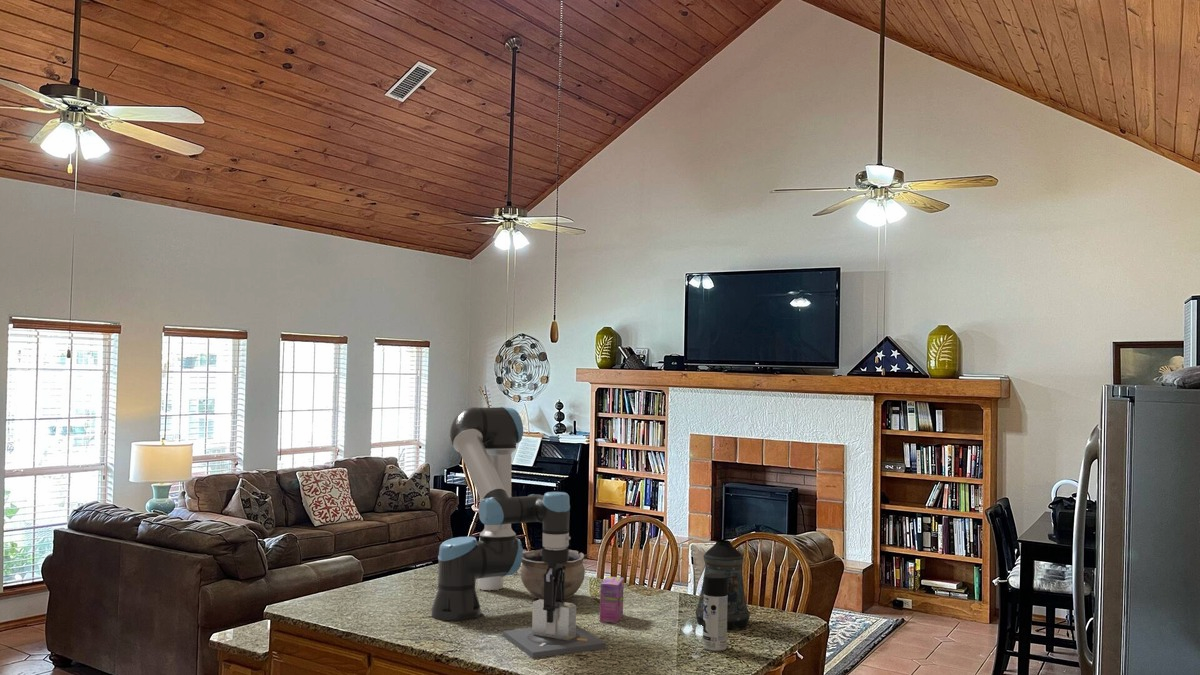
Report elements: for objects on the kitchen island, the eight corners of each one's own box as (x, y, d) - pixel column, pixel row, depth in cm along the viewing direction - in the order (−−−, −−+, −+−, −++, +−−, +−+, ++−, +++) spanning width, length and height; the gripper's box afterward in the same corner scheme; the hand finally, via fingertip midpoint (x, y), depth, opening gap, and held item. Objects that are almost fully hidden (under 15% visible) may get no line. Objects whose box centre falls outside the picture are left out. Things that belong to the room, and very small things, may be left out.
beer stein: (713, 633, 262) (714, 547, 263) (681, 616, 280) (682, 537, 281) (760, 627, 269) (760, 544, 270) (726, 612, 286) (727, 534, 288)
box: (617, 623, 270) (618, 584, 271) (599, 622, 272) (600, 583, 272) (623, 615, 281) (624, 577, 281) (605, 613, 282) (606, 576, 282)
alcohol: (478, 585, 317) (480, 501, 318) (502, 585, 318) (505, 501, 319) (477, 591, 308) (479, 504, 310) (503, 591, 309) (505, 504, 310)
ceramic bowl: (596, 597, 303) (597, 553, 304) (560, 610, 285) (561, 563, 285) (544, 588, 315) (545, 545, 316) (506, 600, 296) (507, 555, 297)
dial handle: (532, 634, 251) (532, 600, 251) (539, 630, 254) (540, 597, 255) (568, 640, 245) (568, 606, 246) (575, 637, 249) (576, 603, 249)
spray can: (700, 644, 250) (701, 573, 251) (724, 644, 250) (725, 573, 252) (705, 652, 243) (706, 578, 244) (729, 651, 244) (730, 578, 245)
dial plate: (502, 636, 254) (503, 630, 255) (572, 628, 264) (572, 622, 264) (532, 658, 235) (532, 651, 235) (606, 648, 245) (606, 642, 245)
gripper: (558, 554, 241) (556, 641, 240) (576, 543, 259) (575, 623, 258) (532, 552, 243) (530, 638, 242) (552, 541, 261) (550, 621, 259)
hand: (553, 630), depth 250 cm, fingers closed on dial handle, 5 cm apart
